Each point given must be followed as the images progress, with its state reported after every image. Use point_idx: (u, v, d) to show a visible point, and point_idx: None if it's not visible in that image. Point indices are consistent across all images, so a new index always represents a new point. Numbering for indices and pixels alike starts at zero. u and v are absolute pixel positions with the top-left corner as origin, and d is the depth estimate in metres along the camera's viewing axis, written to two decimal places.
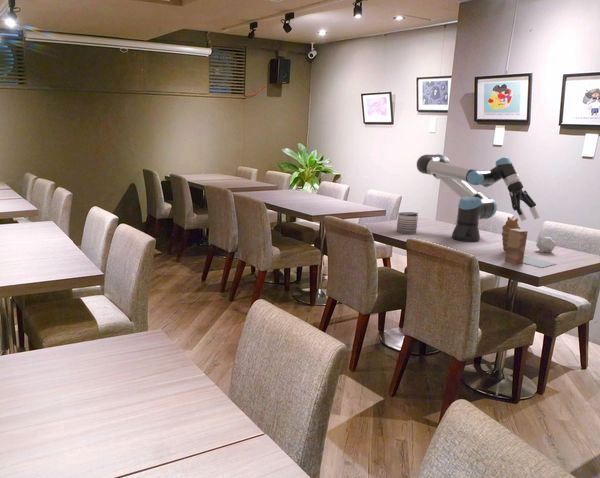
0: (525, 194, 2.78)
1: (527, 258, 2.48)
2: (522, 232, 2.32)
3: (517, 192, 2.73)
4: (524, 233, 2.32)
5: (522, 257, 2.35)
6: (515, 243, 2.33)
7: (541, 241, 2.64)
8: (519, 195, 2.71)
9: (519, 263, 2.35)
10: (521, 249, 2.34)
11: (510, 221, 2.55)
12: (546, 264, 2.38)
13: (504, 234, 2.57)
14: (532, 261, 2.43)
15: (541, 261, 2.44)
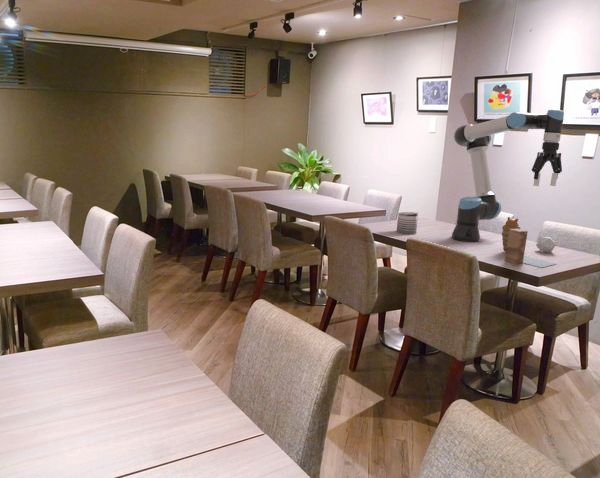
0: (557, 156, 2.57)
1: (527, 258, 2.48)
2: (522, 232, 2.32)
3: (547, 153, 2.53)
4: (524, 233, 2.32)
5: (522, 257, 2.35)
6: (515, 243, 2.33)
7: (541, 241, 2.64)
8: (547, 158, 2.53)
9: (519, 263, 2.35)
10: (521, 249, 2.34)
11: (510, 221, 2.55)
12: (546, 264, 2.38)
13: (504, 234, 2.57)
14: (532, 261, 2.43)
15: (541, 261, 2.44)
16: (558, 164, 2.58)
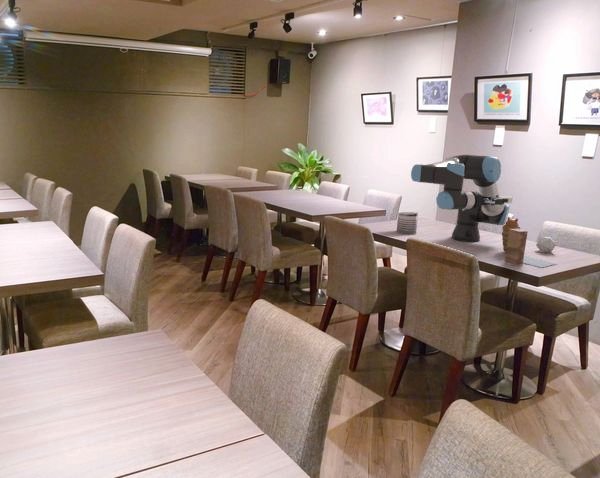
0: None
1: (527, 258, 2.48)
2: (522, 232, 2.32)
3: None
4: (524, 233, 2.32)
5: (522, 257, 2.35)
6: (515, 243, 2.33)
7: (541, 241, 2.64)
8: None
9: (519, 263, 2.35)
10: (521, 249, 2.34)
11: (510, 221, 2.55)
12: (546, 264, 2.38)
13: (504, 234, 2.57)
14: (532, 261, 2.43)
15: (541, 261, 2.44)
16: None
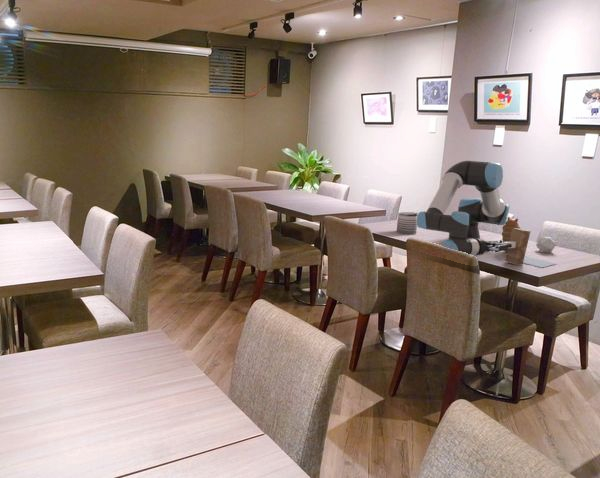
0: None
1: (527, 258, 2.48)
2: (525, 231, 2.32)
3: None
4: (527, 233, 2.33)
5: (523, 257, 2.35)
6: (517, 242, 2.34)
7: (541, 241, 2.64)
8: None
9: (519, 263, 2.35)
10: (523, 249, 2.34)
11: (510, 221, 2.55)
12: (546, 264, 2.38)
13: (504, 234, 2.57)
14: (532, 261, 2.43)
15: (541, 261, 2.44)
16: None
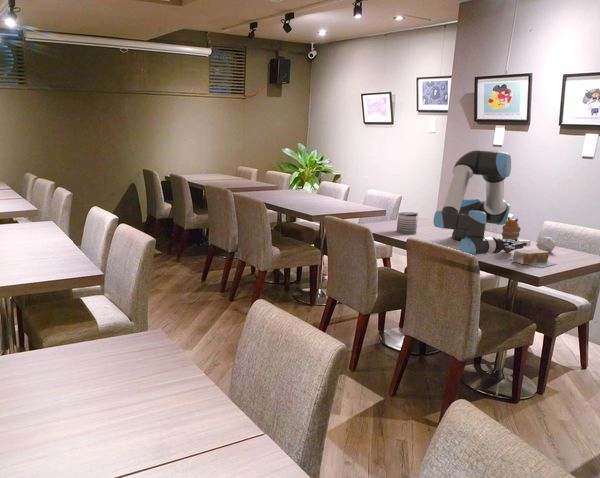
0: None
1: None
2: (547, 256, 2.42)
3: None
4: (546, 258, 2.42)
5: (528, 262, 2.38)
6: (538, 252, 2.40)
7: (541, 241, 2.64)
8: None
9: (524, 259, 2.36)
10: (535, 259, 2.39)
11: (510, 221, 2.55)
12: (546, 264, 2.38)
13: (504, 234, 2.57)
14: None
15: None
16: None
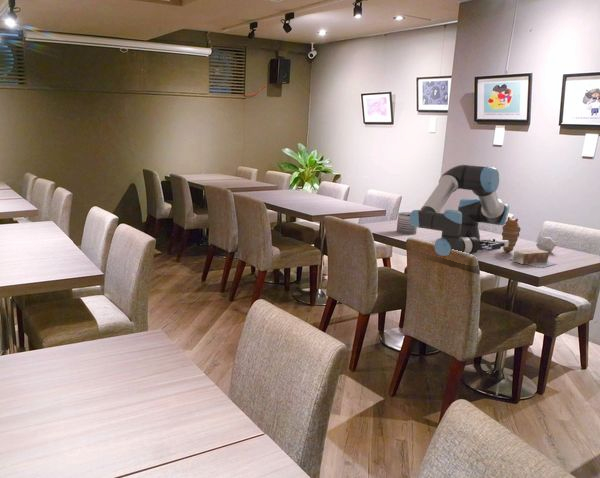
0: None
1: None
2: (547, 256, 2.42)
3: None
4: (546, 258, 2.42)
5: (528, 262, 2.38)
6: (538, 252, 2.40)
7: (541, 241, 2.64)
8: None
9: (524, 259, 2.36)
10: (535, 259, 2.39)
11: (510, 221, 2.55)
12: (546, 264, 2.38)
13: (504, 234, 2.57)
14: None
15: None
16: None
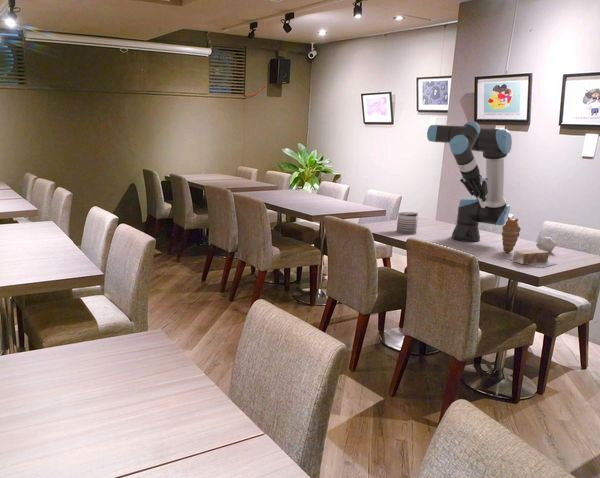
0: None
1: None
2: (547, 256, 2.42)
3: None
4: (546, 258, 2.42)
5: (528, 262, 2.38)
6: (538, 252, 2.40)
7: (541, 241, 2.64)
8: (468, 184, 2.29)
9: (524, 259, 2.36)
10: (535, 259, 2.39)
11: (510, 221, 2.55)
12: (546, 264, 2.38)
13: (504, 234, 2.57)
14: None
15: None
16: None
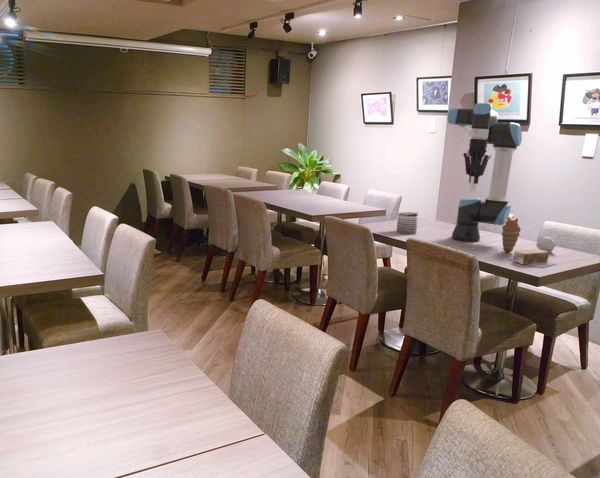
0: None
1: None
2: (547, 256, 2.42)
3: (470, 150, 2.34)
4: (546, 258, 2.42)
5: (528, 262, 2.38)
6: (538, 252, 2.40)
7: (541, 241, 2.64)
8: None
9: (524, 259, 2.36)
10: (535, 259, 2.39)
11: (510, 221, 2.55)
12: (546, 264, 2.38)
13: (504, 234, 2.57)
14: None
15: None
16: None
